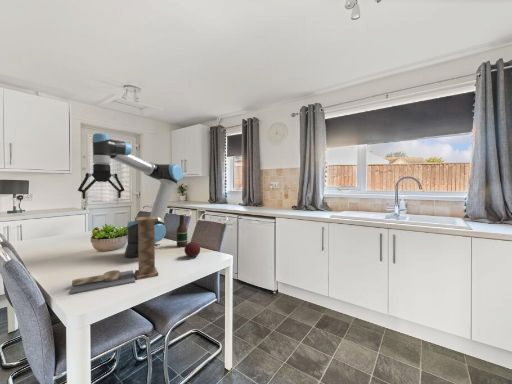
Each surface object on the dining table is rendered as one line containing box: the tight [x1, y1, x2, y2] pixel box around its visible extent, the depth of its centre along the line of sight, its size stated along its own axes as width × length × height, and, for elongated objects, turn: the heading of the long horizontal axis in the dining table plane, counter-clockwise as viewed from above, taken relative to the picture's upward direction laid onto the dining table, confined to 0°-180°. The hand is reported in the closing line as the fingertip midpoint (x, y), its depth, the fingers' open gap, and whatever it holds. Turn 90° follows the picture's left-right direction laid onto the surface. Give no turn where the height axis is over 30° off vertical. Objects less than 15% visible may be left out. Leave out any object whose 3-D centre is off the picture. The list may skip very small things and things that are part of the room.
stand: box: [134, 216, 159, 280], centre depth 125 cm, size 10×10×30 cm
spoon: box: [71, 269, 121, 287], centre depth 114 cm, size 19×7×3 cm, turn 121°
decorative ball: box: [184, 241, 201, 258], centre depth 155 cm, size 10×10×10 cm
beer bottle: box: [176, 214, 188, 248], centre depth 180 cm, size 8×8×24 cm
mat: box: [70, 269, 136, 295], centre depth 116 cm, size 25×16×1 cm, turn 121°
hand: (102, 204), depth 124 cm, fingers open, 13 cm apart
